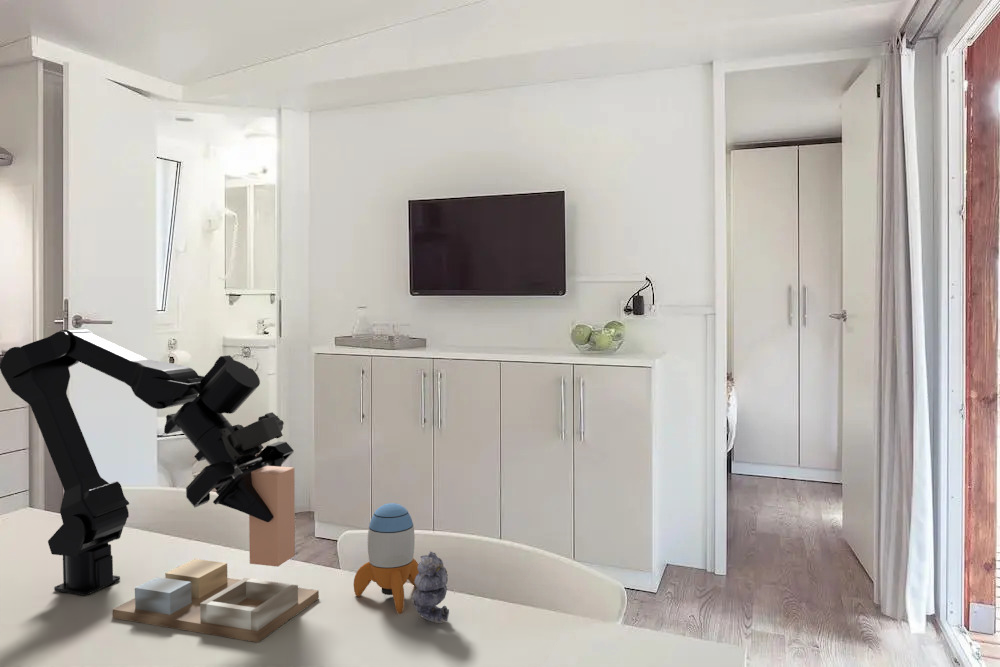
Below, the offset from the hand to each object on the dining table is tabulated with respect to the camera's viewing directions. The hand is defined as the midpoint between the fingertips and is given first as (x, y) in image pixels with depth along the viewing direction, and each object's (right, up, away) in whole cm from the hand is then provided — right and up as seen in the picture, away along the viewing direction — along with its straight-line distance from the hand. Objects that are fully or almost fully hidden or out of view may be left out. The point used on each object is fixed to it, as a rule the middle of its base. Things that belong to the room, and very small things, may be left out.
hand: (280, 514), depth 97 cm
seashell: (+22, -14, -5) cm, 26 cm away
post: (-1, -7, +1) cm, 7 cm away
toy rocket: (+14, -14, +4) cm, 20 cm away
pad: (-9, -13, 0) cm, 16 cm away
